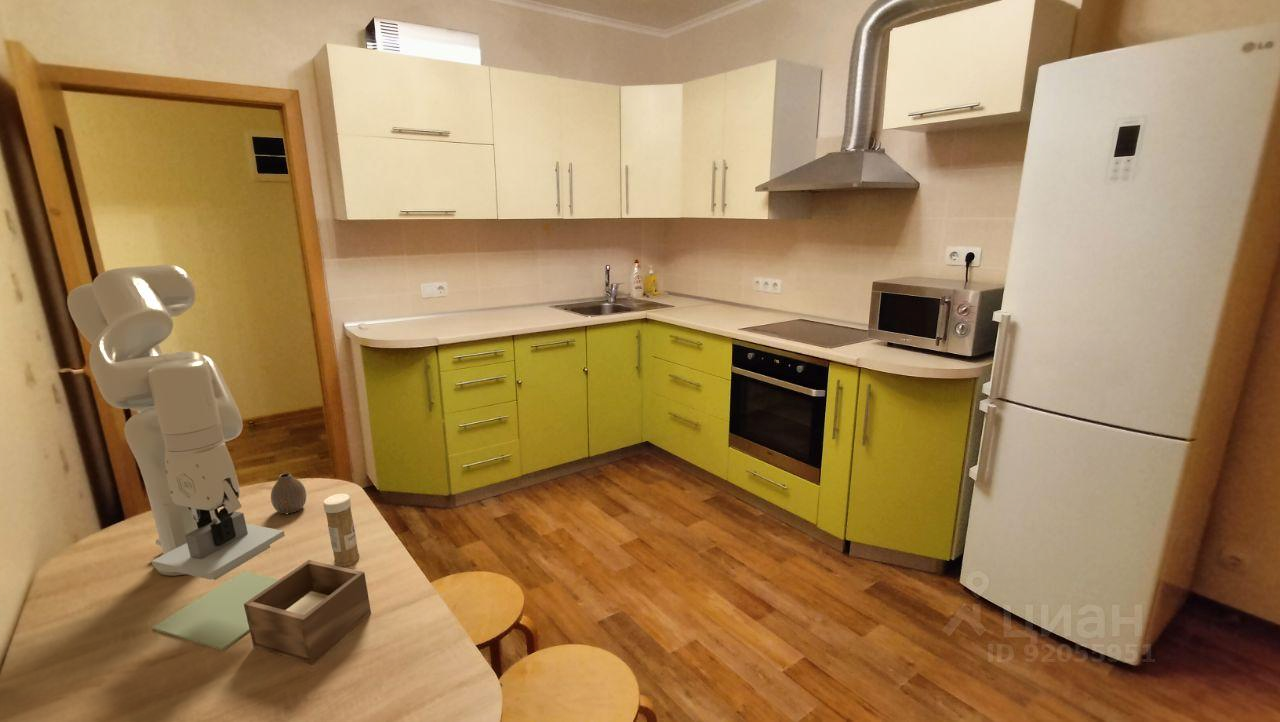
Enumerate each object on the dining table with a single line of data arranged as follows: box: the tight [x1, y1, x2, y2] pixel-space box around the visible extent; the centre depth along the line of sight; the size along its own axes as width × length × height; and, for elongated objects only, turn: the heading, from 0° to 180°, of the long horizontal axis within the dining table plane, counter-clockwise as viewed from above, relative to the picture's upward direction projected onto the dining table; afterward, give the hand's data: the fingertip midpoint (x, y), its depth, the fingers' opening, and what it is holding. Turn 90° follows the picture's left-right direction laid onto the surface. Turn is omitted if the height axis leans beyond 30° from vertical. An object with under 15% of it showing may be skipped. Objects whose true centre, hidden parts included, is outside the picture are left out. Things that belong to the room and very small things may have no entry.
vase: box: [270, 472, 307, 514], centre depth 132 cm, size 7×7×9 cm
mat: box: [151, 570, 280, 651], centre depth 101 cm, size 16×16×1 cm
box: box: [244, 559, 372, 665], centre depth 94 cm, size 12×12×8 cm
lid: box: [151, 511, 286, 581], centre depth 97 cm, size 13×13×6 cm
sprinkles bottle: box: [322, 493, 361, 567], centre depth 112 cm, size 5×5×13 cm
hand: (219, 539), depth 97 cm, fingers closed on lid
